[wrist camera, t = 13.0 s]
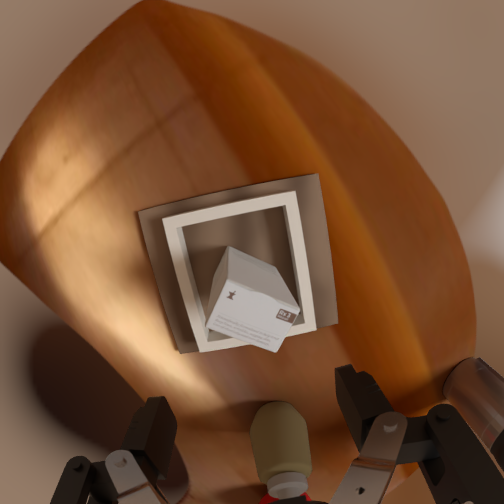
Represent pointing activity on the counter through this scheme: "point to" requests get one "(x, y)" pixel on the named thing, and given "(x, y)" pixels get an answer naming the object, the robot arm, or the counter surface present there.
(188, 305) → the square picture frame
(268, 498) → the tomato
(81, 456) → the robot arm
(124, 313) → the counter surface
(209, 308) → the skincare box
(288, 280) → the board
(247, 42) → the counter surface
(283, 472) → the squeeze bottle
